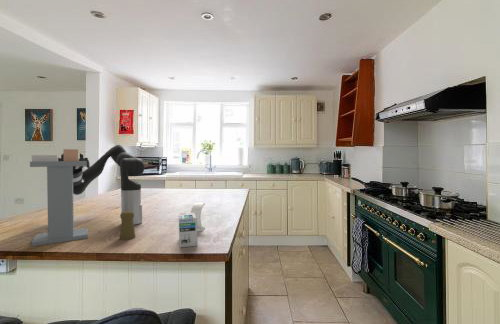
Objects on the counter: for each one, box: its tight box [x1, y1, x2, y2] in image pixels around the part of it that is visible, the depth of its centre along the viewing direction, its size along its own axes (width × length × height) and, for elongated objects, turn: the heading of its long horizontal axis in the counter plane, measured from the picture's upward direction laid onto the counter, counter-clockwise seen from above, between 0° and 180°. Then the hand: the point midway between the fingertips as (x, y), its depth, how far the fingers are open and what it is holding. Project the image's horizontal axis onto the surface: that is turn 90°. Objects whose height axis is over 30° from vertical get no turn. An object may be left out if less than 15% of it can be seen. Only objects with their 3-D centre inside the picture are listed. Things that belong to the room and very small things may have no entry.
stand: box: [29, 154, 89, 247], centre depth 107 cm, size 18×13×34 cm
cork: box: [118, 211, 136, 241], centre depth 107 cm, size 6×6×11 cm
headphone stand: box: [190, 202, 206, 232], centre depth 118 cm, size 5×6×12 cm
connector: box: [62, 148, 79, 161], centre depth 114 cm, size 5×17×5 cm, turn 33°
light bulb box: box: [178, 212, 198, 248], centre depth 100 cm, size 11×7×11 cm, turn 17°
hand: (72, 155), depth 117 cm, fingers open, 5 cm apart
